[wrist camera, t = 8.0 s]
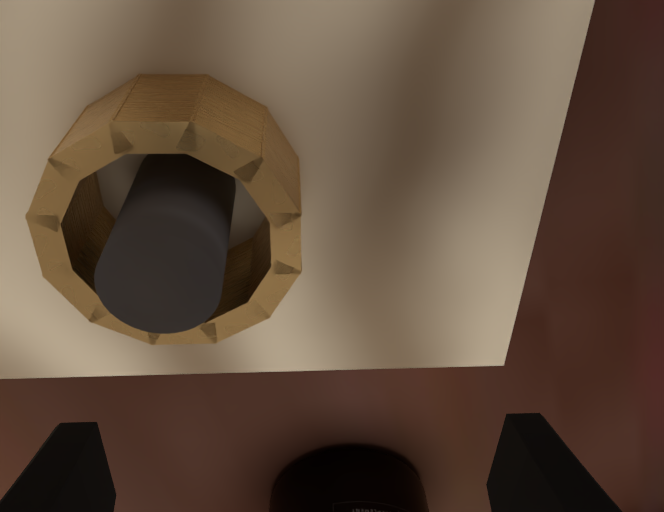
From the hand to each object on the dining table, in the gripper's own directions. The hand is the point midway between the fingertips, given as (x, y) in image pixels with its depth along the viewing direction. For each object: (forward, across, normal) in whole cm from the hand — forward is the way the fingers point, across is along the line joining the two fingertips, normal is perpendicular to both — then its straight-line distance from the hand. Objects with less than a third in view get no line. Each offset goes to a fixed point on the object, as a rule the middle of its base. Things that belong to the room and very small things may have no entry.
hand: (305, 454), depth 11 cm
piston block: (+9, +3, -1) cm, 10 cm away
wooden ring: (+8, +3, -1) cm, 8 cm away
